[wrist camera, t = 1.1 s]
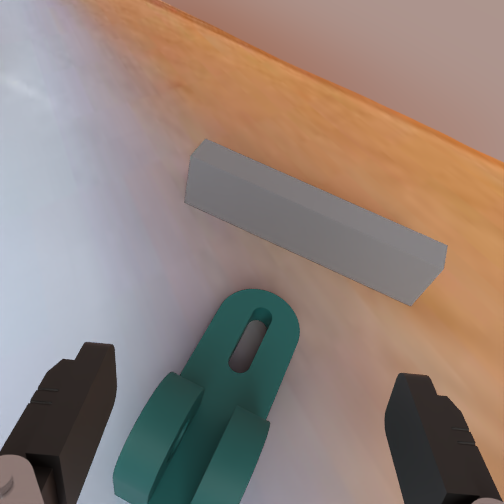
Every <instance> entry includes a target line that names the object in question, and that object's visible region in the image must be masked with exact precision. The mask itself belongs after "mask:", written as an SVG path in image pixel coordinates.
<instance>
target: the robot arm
mask: <svg viewBox="0 0 504 504" xmlns="http://www.w3.org/2000/svg"><path fill="white" fill-rule="evenodd" d="M116 391H117V378H116V363H115V349H114V345H113V344H103V343H93V342H85V343H84V344H83V346H82V348H81V349H80V351H79V353H78V355H77V357H76V359H75V360H69V359H62V360H61V361H60V362H59V363H57V364H56V365H55V366H54V367H52V368H51V369H50V370H49V371H48V372H47V373H46V375H45V376H44V378H43V380H42V382H41V383H40V385H39V387H38V390H36V392H35V393H34V395H33V397H32V398H31V401H30V404H29V403H28V405H27V407H26V409H25V410H24V412H23V414H22V415H21V417H20V419H19V420H18V422H17V424H16V425H15V427H14V429H13V430H12V432H11V434H10V436H9V437H8V439H7V441H6V442H5V444H4V446H3V447H2V449H1V451H0V504H76V503H77V500H78V498H79V495H80V492H81V490H82V487H83V485H84V482H85V479H86V477H87V474H88V471H89V469H90V466H91V464H92V461H93V458H94V456H95V453H96V450H97V448H98V445H99V443H100V440H101V437H102V435H103V432H104V429H105V427H106V424H107V422H108V419H109V416H110V414H111V411H112V408H113V406H114V402H115V397H116ZM385 432H386V436H387V440H388V444H389V448H390V451H391V455H392V459H393V462H394V466H395V470H396V474H397V477H398V481H399V485H400V489H401V492H402V496H403V500H404V504H504V502H503V501H502V499H501V497H500V495H499V492H498V490H497V488H496V486H495V484H494V482H493V480H492V477H491V475H490V473H489V471H488V469H487V467H486V464H485V462H484V460H483V458H482V456H481V454H480V451H479V449H478V447H477V446H475V441H474V439H473V436H472V434H471V432H469V428H468V426H467V423H466V421H465V419H464V417H463V415H462V413H461V411H460V410H459V409H458V408H457V407H456V406H455V405H454V403H453V402H452V401H451V400H450V399H449V398H448V397H447V396H439V395H437V393H436V390H435V388H434V386H433V383H432V381H431V379H430V377H429V376H427V375H419V374H408V373H400V374H399V375H398V376H397V379H396V382H395V385H394V388H393V391H392V394H391V396H390V399H389V402H388V405H387V408H386V412H385Z"/></svg>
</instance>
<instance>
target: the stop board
mask: <svg viewBox="0 0 504 504" xmlns="http://www.w3.org/2000/svg"><path fill="white" fill-rule="evenodd" d="M185 203H187V204H189V205H191V206H193V207H196V208H198V209H200V210H202V211H204V212H206V213H209V214H211V215H213V216H215V217H217V218H219V219H222V220H224V221H226V222H228V223H230V224H233V225H235V226H237V227H239V228H241V229H243V230H246V231H248V232H250V233H252V234H254V235H256V236H259V237H261V238H263V239H265V240H267V241H269V242H272V243H274V244H276V245H278V246H280V247H283V248H285V249H287V250H289V251H291V252H293V253H296V254H298V255H300V256H302V257H304V258H306V259H309V260H311V261H313V262H315V263H317V264H320V265H322V266H324V267H326V268H328V269H330V270H333V271H335V272H337V273H339V274H341V275H343V276H346V277H348V278H350V279H352V280H354V281H357V282H359V283H361V284H363V285H365V286H367V287H370V288H372V289H374V290H376V291H378V292H380V293H383V294H385V295H387V296H389V297H391V298H394V299H396V300H398V301H400V302H402V303H404V304H407V305H409V306H411V305H412V304H413V303H414V302H415V301H416V300H417V299H418V298H419V296H420V295H421V294H422V293H423V292H424V291H425V290H426V288H427V287H428V286H429V285H430V284H431V283H432V282H433V281H434V279H435V278H436V277H437V276H438V275H439V274H440V273H441V272H442V270H443V269H444V264H445V258H446V252H447V245H445V244H443V243H441V242H438V241H436V240H434V239H432V238H429V237H427V236H425V235H423V234H420V233H418V232H416V231H414V230H411V229H409V228H407V227H404V226H402V225H400V224H398V223H395V222H393V221H391V220H389V219H386V218H384V217H382V216H380V215H377V214H375V213H373V212H371V211H368V210H366V209H364V208H361V207H359V206H357V205H355V204H352V203H350V202H348V201H346V200H343V199H341V198H339V197H337V196H334V195H332V194H330V193H328V192H325V191H323V190H321V189H318V188H316V187H314V186H312V185H309V184H307V183H305V182H303V181H300V180H298V179H296V178H294V177H291V176H289V175H287V174H285V173H282V172H280V171H278V170H275V169H273V168H271V167H269V166H266V165H264V164H262V163H260V162H257V161H255V160H253V159H251V158H248V157H246V156H244V155H241V154H239V153H237V152H235V151H232V150H230V149H228V148H226V147H223V146H221V145H219V144H217V143H214V142H212V141H210V140H208V139H205V140H204V141H203V142H202V143H201V144H200V145H199V147H198V148H197V149H196V150H195V151H194V152H193V153H192V155H191V156H190V164H189V172H188V179H187V187H186V195H185Z"/></svg>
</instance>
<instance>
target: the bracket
mask: <svg viewBox="0 0 504 504" xmlns="http://www.w3.org/2000/svg"><path fill="white" fill-rule="evenodd" d="M253 320H259V321H261V322H263V323H264V324H265V326H266V328H267V332H266V334H265V336H264V338H263V341H262V343H261V345H260V347H259V349H258V351H257V353H256V355H255V357H254V359H253V361H252V364H251V366H250V368H249V369H248V370H247V371H246V372H244V373H237V372H234V371H233V370H232V369H231V368H230V367H229V364H228V362H229V360H230V358H231V356H232V354H233V352H234V350H235V348H236V346H237V345H238V343H239V341H240V339H241V337H242V335H243V333H244V331H245V329H246V327H247V325H248V324H249V322H251V321H253ZM299 334H300V328H299V323H298V319H297V317H296V315H295V313H294V311H293V310H292V308H291V307H290V306H289V305H288V304H287V303H286V302H285V301H284V300H283V299H281V298H280V297H279V296H277V295H275V294H273V293H271V292H268V291H265V290H260V289H246V290H241V291H238V292H236V293H234V294H232V295H230V296H229V297H228V298H227V299H226V300H225V301H224V302H223V303H222V304H221V306H220V308H219V309H218V311H217V313H216V314H215V316H214V318H213V320H212V321H211V323H210V325H209V326H208V328H207V330H206V331H205V333H204V335H203V337H202V338H201V340H200V342H199V343H198V345H197V347H196V348H195V350H194V352H193V354H192V355H191V357H190V359H189V360H188V362H187V364H186V365H185V367H184V369H183V371H182V372H181V374H180V375H178V374H176V373H174V372H170V373H169V374H168V375H167V376H166V377H165V378H164V379H163V380H162V382H161V383H160V384H159V386H158V387H157V388H156V390H155V391H154V393H153V394H152V396H151V397H150V399H149V401H148V402H147V404H146V405H145V407H144V409H143V411H142V412H141V414H140V416H139V417H138V419H137V421H136V423H135V425H134V427H133V429H132V430H131V432H130V434H129V436H128V438H127V440H126V442H125V444H124V447H123V449H122V451H121V453H120V456H119V458H118V461H117V463H116V466H115V469H114V473H113V483H114V492H115V495H117V496H118V497H120V498H122V499H124V500H126V501H127V502H129V503H131V504H239V503H240V501H241V499H242V496H243V494H244V492H245V490H246V487H247V485H248V483H249V481H250V478H251V476H252V474H253V471H254V469H255V466H256V464H257V461H258V459H259V456H260V454H261V451H262V448H263V446H264V443H265V440H266V437H267V434H268V431H269V427H270V422H269V421H267V420H266V418H267V416H268V413H269V411H270V408H271V406H272V404H273V401H274V399H275V396H276V394H277V392H278V389H279V387H280V384H281V382H282V379H283V377H284V375H285V372H286V370H287V367H288V365H289V363H290V360H291V358H292V355H293V353H294V350H295V348H296V346H297V343H298V340H299Z"/></svg>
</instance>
